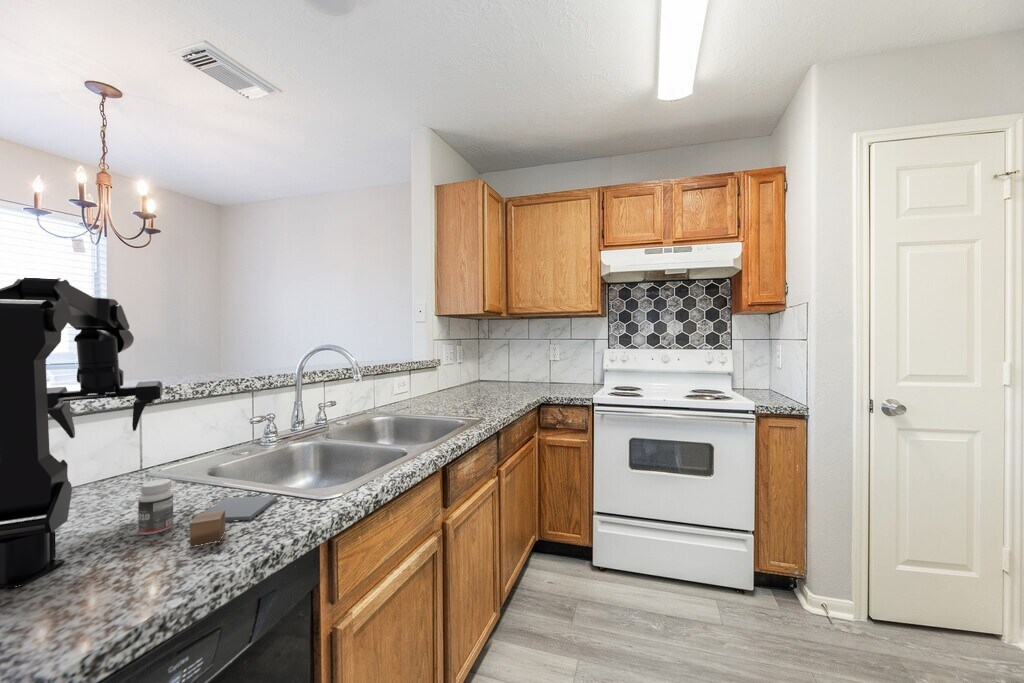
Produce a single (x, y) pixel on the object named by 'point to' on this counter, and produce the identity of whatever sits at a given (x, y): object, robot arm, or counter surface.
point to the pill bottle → (155, 507)
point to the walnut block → (207, 527)
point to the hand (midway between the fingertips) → (104, 433)
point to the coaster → (242, 507)
